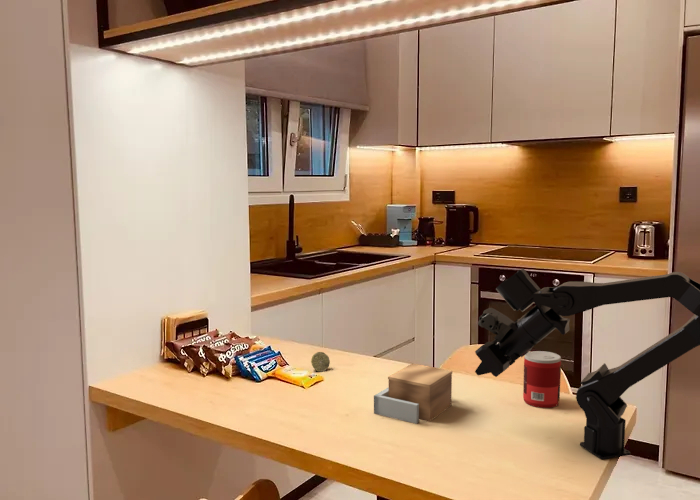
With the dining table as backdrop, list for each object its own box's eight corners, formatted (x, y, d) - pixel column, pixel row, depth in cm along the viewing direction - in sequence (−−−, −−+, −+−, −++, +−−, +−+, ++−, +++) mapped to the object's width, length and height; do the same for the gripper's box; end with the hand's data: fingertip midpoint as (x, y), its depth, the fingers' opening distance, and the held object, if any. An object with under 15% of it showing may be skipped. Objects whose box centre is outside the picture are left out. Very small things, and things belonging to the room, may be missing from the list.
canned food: (566, 406, 136) (567, 359, 134) (533, 409, 134) (535, 361, 133) (548, 395, 143) (549, 349, 142) (517, 397, 141) (518, 352, 140)
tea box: (451, 405, 137) (452, 370, 136) (429, 422, 128) (429, 385, 127) (412, 397, 143) (412, 363, 142) (388, 412, 134) (387, 376, 133)
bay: (448, 400, 140) (448, 383, 140) (416, 423, 127) (416, 405, 126) (408, 391, 146) (408, 375, 145) (373, 413, 133) (373, 395, 132)
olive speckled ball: (331, 369, 164) (331, 351, 163) (321, 374, 160) (321, 355, 159) (318, 366, 166) (318, 348, 165) (307, 371, 162) (307, 353, 161)
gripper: (518, 290, 130) (469, 333, 137) (486, 305, 114) (432, 353, 122) (554, 331, 126) (502, 373, 134) (526, 352, 111) (468, 398, 118)
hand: (476, 373), depth 127 cm, fingers closed
